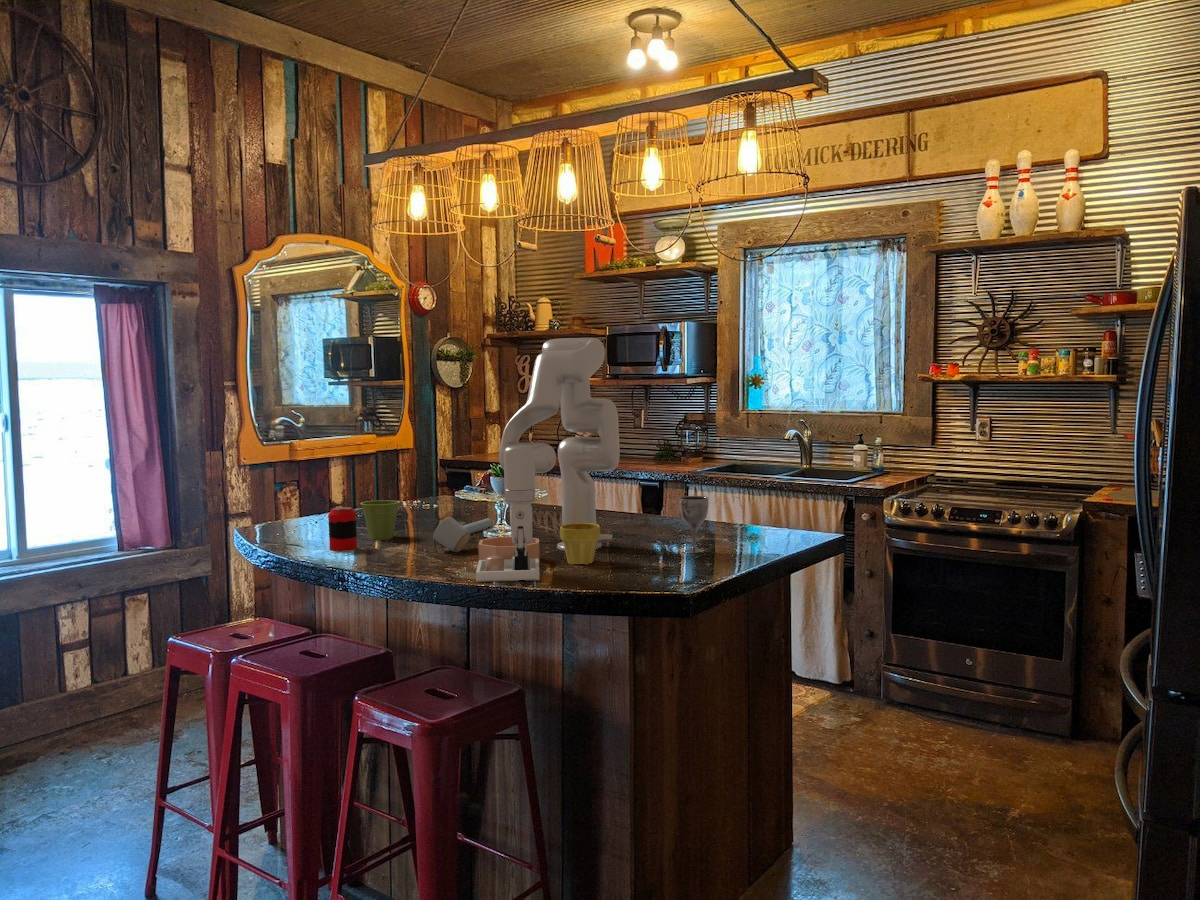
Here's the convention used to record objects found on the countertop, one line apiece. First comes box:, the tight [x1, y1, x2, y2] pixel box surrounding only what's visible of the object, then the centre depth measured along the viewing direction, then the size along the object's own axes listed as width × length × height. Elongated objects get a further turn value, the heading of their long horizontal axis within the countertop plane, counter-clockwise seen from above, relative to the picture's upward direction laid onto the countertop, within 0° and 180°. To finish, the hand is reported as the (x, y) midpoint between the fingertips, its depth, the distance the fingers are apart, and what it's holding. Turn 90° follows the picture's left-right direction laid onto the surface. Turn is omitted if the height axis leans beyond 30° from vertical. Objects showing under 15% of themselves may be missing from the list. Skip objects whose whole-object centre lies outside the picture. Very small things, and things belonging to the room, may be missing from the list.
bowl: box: [477, 536, 541, 564], centre depth 247 cm, size 16×16×6 cm
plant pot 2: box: [559, 523, 601, 565], centre depth 245 cm, size 10×10×10 cm
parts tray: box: [475, 559, 540, 583], centre depth 231 cm, size 15×15×2 cm
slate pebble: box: [512, 555, 530, 571], centre depth 231 cm, size 4×4×4 cm
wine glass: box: [678, 495, 710, 553], centre depth 258 cm, size 8×8×15 cm
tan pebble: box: [486, 556, 504, 571], centre depth 231 cm, size 4×4×4 cm
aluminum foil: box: [462, 517, 494, 535], centre depth 296 cm, size 23×7×3 cm, turn 158°
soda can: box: [328, 506, 358, 552], centre depth 268 cm, size 8×8×12 cm
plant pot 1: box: [359, 499, 401, 541], centre depth 286 cm, size 12×12×11 cm
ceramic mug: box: [432, 516, 471, 553], centre depth 264 cm, size 11×8×8 cm
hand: (521, 569), depth 231 cm, fingers closed on slate pebble, 4 cm apart
